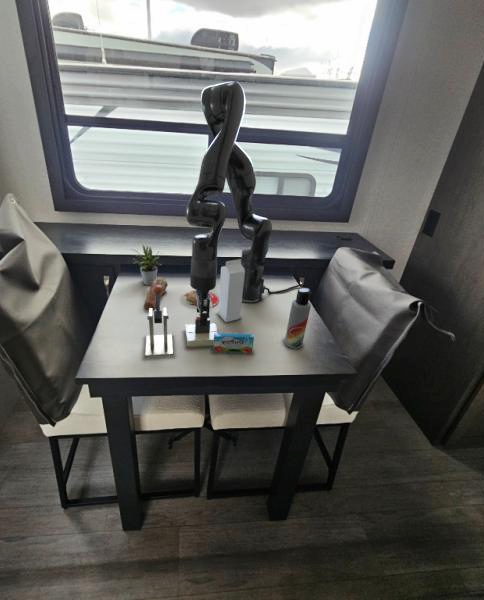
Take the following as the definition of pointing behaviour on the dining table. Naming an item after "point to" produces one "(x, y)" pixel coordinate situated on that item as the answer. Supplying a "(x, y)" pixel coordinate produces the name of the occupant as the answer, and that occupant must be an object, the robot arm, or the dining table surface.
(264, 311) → the dining table surface
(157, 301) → the red ball lever
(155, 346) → the lever bracket
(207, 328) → the black red-tipped box
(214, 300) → the hamburger
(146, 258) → the house plant
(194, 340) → the panel
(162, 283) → the bread
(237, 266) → the milk
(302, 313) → the lotion bottle
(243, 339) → the blue flat cardboard box
